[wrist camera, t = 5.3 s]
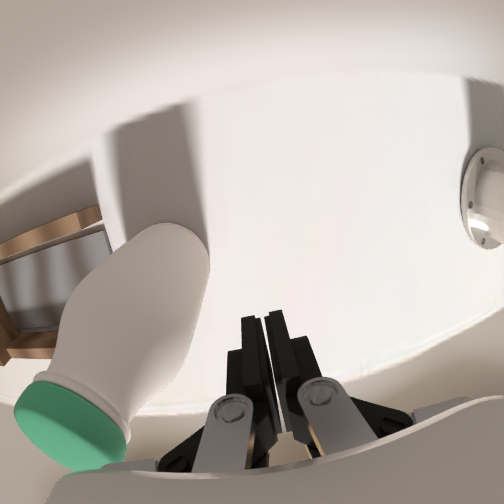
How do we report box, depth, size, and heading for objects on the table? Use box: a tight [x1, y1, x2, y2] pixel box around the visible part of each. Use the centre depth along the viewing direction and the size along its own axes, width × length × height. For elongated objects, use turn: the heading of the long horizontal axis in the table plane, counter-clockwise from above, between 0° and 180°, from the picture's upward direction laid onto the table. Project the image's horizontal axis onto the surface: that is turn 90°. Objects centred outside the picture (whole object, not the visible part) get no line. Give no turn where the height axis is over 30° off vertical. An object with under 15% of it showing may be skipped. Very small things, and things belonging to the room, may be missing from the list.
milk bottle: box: [14, 223, 210, 472], centre depth 16 cm, size 8×8×20 cm
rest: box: [0, 205, 112, 366], centre depth 23 cm, size 22×14×6 cm, turn 101°
